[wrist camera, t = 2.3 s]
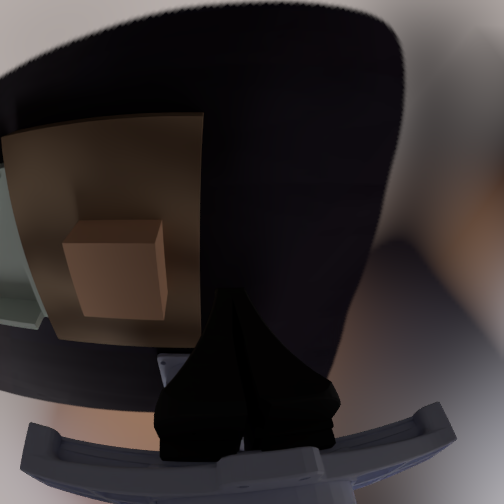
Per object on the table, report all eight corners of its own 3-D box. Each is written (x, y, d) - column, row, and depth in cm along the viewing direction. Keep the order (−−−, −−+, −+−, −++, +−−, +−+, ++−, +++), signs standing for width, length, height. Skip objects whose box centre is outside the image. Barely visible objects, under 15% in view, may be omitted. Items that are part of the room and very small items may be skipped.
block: (167, 291, 18) (163, 320, 16) (94, 289, 17) (84, 316, 15) (162, 219, 15) (154, 243, 13) (79, 220, 14) (61, 243, 12)
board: (201, 328, 23) (201, 347, 21) (65, 321, 21) (58, 338, 19) (203, 112, 14) (202, 116, 13) (18, 129, 12) (0, 137, 11)
